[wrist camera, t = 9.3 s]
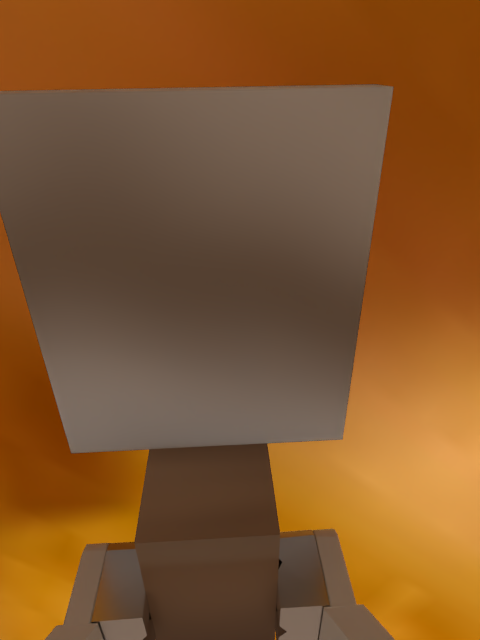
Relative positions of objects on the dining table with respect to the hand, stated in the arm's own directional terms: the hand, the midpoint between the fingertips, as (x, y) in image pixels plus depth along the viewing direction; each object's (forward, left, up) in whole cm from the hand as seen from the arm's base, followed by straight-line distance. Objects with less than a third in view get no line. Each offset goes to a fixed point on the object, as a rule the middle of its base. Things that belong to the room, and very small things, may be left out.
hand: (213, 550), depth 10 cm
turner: (-1, -1, -2) cm, 2 cm away
